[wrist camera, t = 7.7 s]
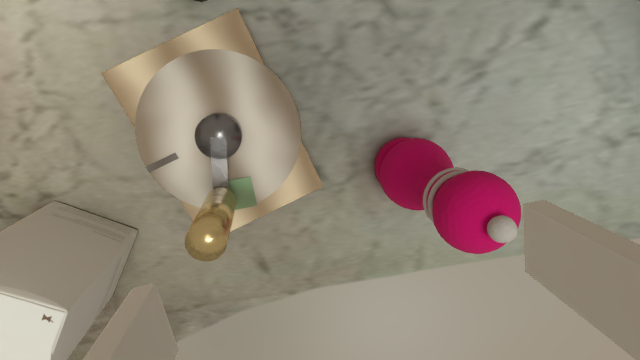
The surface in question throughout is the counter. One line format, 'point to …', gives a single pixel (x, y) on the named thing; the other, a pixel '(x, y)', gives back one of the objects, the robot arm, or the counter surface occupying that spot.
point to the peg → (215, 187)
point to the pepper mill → (449, 195)
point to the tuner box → (207, 98)
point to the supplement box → (57, 279)
